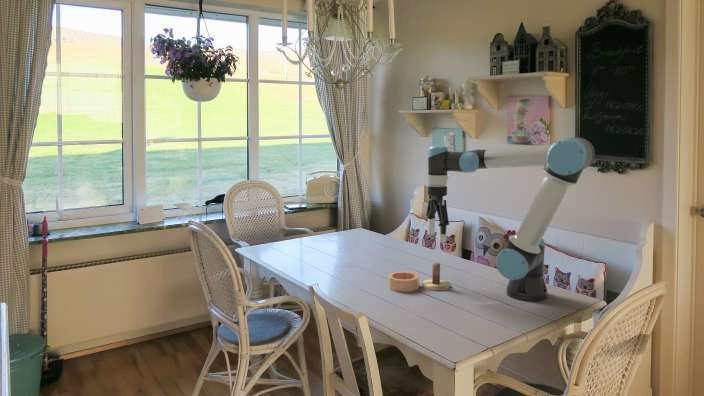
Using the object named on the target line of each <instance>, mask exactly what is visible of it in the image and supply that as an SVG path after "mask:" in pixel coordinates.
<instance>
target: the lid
mask: <svg viewBox="0 0 704 396" xmlns="http://www.w3.org/2000/svg"><path fill="white" fill-rule="evenodd" d="M431 272H432V274H431V275H432V276H431V277H432V279H425V280H423V281H422V282H421V283H422V285H421V287H422V288H424V289H425V290H427V289H428V290H436V291H438V292H439V291H447V290H446V289H449V288H451V284H450V282H449V281H447V280H445V279H441V263H437V262H434V263H432V270H431ZM428 290H427V291H428ZM436 291H435V292H436Z"/></svg>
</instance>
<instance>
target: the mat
mask: <svg viewBox="0 0 704 396" xmlns="http://www.w3.org/2000/svg"><path fill="white" fill-rule="evenodd" d="M419 285H421V286H422V282H419ZM426 290H427V292H433V291H435V292H436V290H428V289H426ZM447 290H449V291H450V290H452V288H451V287H450V288H449V289H446V290H445V291H447Z"/></svg>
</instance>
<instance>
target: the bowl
mask: <svg viewBox="0 0 704 396" xmlns="http://www.w3.org/2000/svg"><path fill="white" fill-rule="evenodd" d="M387 287H388V288H389V290H392V291H395V292H401V293H402V292H403V293H404V292H414V291H417V290H418V289H419V288H420V276H419V274H418V273H415V272H411V271H395V272H391V273H389V274H388V275H387Z"/></svg>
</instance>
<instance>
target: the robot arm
mask: <svg viewBox="0 0 704 396" xmlns="http://www.w3.org/2000/svg"><path fill="white" fill-rule="evenodd" d="M427 153H428V156H427V160H428V161H427V162H428V163H427V167H428V168H427V169H428V171H427V185H428V186H427V195H428V202H427V208H426V213H425V216H426V217H427V235H428V236H433V235H435V234H436V227H435V226H436V214H437V218H438V221H439V223H438V243H440V244H441V243H447V226H449V224H450V221H449V215H448V214H449V213H448V208H447V200H446V199H444V197H446V196H447V195H448V186H447V185H448V179H449V176H448V172H460V173H466V174H468V173H475V172H476V171H477V170H483V169H484V170H485V169H500V168H503V169H504V168H524V167H525V168H526V167H543V168H542V171H543V174H544V177H543V178H542V181H541V183H540V185H539V187H538V189H537V190H536V191H537V192H536V194H535V195H534V197H533V199H532V202H531V203H530V205H529V207H528V209H527V211H526V213H525V215H524V217H523V219H522V221H521V223H520V224H519V227H518V230H517V231H516V234H513V235H510V236H508V237H509V238H508V239H507V241H506V244H505V246H504V247H503V249H501V251H499V252H498V253H497V256H496V257H495V267H496V269H497V271H498V273H499V274H500V275H501V276H502V277H504V278H505V279H507V280H509V281H508V283H507V285H506V292H505V293H506V295H507V296H509V297H510V298H513V299H515V300H520V301H527V302H531V301H532V302H533V301H534V302H535V301H536V302H537V301H543V300H545V299H547V298H548V288H547V285H546V281H545V279H544V270H545V269H544V268H545V249H546V246H545V244H546V243H545V240H544V238H543V237H544V236H545V233H546V232H547V230H548V228H549V226H550V224H551V222H552V220H553V218H554V216H555V214H556V213H557V211H558V209H559V207H560V204H561V203H562V201H563V199H564V197H565V195H566V193H567V192H568V189H569V187H570V186H573V185H576V184H577V182H578V181H579V180H580V177H581V175H582V173H583V171H584V170H585V169H587V168H588V167H590V165H591V164H592V163H593V162H594V158H595V149H594V146H593V145H592V143H591V142H590V141H588V139H585V138H584V137H583V138H582V137H567V138H562V139H559V140H558V141H554V142H553V143H552V144H543V145H542V144H541V145H540V144H539V145H529V146H527V145H526V146H516V147H515V146H513V147H501V148H500V147H499V148H488V149H473V150H467V151H449V147H448V146H444V145H431V146H429V147H428V152H427Z"/></svg>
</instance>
